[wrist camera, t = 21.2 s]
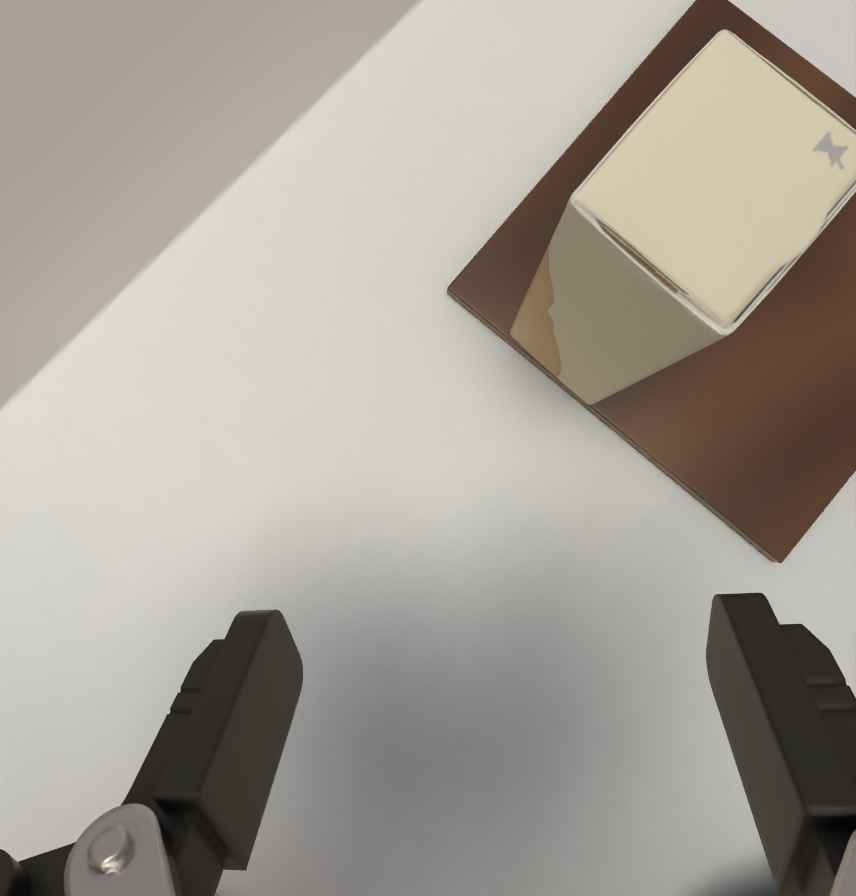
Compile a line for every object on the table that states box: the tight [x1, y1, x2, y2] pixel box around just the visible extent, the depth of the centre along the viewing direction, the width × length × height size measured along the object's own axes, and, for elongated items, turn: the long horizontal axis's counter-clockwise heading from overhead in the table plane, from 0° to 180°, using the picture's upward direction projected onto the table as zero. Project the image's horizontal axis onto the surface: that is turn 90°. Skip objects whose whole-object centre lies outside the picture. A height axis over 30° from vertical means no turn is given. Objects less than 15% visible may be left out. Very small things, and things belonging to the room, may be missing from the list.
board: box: [447, 0, 856, 563], centre depth 23 cm, size 16×16×1 cm
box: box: [510, 29, 856, 405], centre depth 18 cm, size 5×4×11 cm
